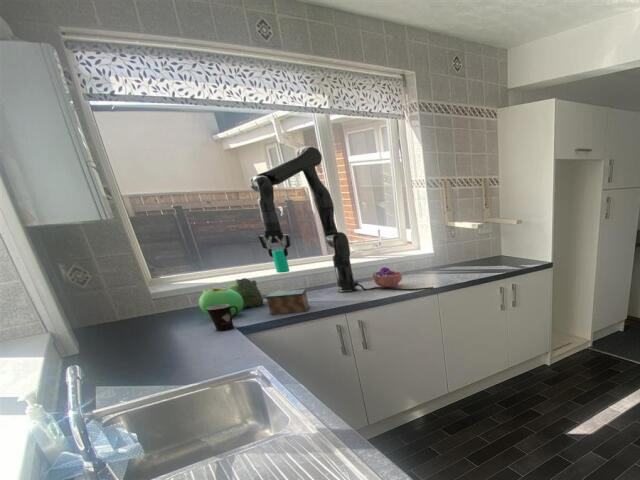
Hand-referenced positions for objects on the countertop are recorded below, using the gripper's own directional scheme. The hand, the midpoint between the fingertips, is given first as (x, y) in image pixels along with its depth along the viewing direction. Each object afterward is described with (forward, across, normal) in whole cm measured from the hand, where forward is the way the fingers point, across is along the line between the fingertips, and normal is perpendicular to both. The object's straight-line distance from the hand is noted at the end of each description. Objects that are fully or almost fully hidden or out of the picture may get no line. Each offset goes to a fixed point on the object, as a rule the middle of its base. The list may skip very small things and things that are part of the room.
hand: (279, 256), depth 214 cm
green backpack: (+25, +24, -2) cm, 35 cm away
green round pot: (+25, +26, +14) cm, 39 cm away
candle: (+8, 0, 0) cm, 8 cm away
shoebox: (+25, -2, +13) cm, 28 cm away
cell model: (+25, -50, -25) cm, 61 cm away
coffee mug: (+25, +18, +36) cm, 48 cm away
